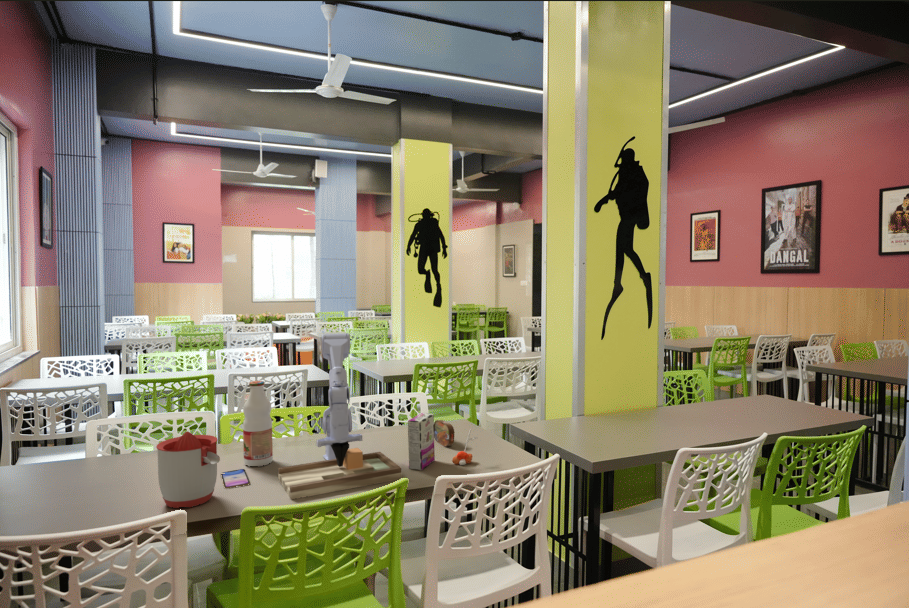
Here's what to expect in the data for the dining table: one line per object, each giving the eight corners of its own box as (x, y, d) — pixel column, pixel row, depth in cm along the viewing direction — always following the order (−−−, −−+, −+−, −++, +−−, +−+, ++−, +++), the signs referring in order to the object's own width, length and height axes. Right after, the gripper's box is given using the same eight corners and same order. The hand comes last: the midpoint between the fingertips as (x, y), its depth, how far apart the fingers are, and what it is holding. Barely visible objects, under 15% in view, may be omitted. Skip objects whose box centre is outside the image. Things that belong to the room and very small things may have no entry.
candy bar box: (421, 459, 193) (421, 412, 192) (435, 460, 191) (434, 413, 190) (407, 469, 182) (407, 420, 182) (421, 471, 181) (421, 421, 180)
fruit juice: (264, 468, 185) (262, 384, 184) (238, 466, 186) (236, 384, 185) (277, 459, 194) (276, 379, 193) (252, 457, 195) (250, 379, 194)
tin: (432, 439, 218) (432, 417, 217) (439, 438, 219) (439, 417, 219) (448, 449, 204) (448, 426, 204) (456, 448, 205) (455, 425, 205)
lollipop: (481, 464, 187) (481, 429, 186) (454, 467, 184) (454, 431, 184) (475, 459, 193) (475, 425, 192) (449, 461, 190) (449, 427, 189)
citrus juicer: (197, 516, 147) (195, 441, 146) (144, 509, 152) (142, 437, 151) (235, 494, 162) (234, 426, 161) (186, 488, 167) (184, 422, 166)
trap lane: (278, 478, 174) (278, 467, 174) (380, 461, 190) (380, 451, 190) (290, 499, 157) (290, 487, 157) (401, 478, 173) (401, 467, 173)
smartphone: (224, 490, 166) (224, 487, 166) (220, 475, 179) (220, 472, 179) (251, 485, 169) (250, 482, 169) (244, 471, 183) (244, 468, 183)
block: (343, 465, 181) (343, 449, 181) (357, 462, 183) (357, 447, 183) (347, 469, 176) (347, 454, 176) (362, 467, 179) (362, 451, 179)
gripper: (320, 429, 170) (320, 473, 171) (365, 423, 177) (365, 465, 178) (314, 424, 177) (315, 466, 177) (358, 419, 183) (358, 459, 184)
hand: (340, 465), depth 178 cm, fingers closed
